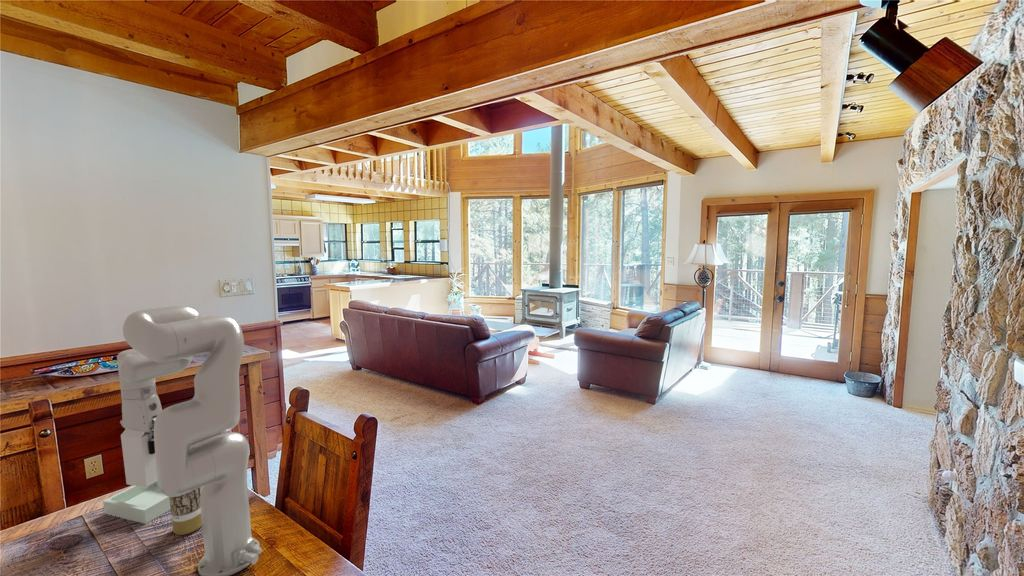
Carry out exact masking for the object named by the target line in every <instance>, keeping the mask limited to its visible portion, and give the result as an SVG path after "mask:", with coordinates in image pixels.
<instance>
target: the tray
mask: <svg viewBox="0 0 1024 576" xmlns="http://www.w3.org/2000/svg"><path fill="white" fill-rule="evenodd" d="M102 503H103V510H104V512H103V513H104V514H105V515H107V514H108V516H111V515H112V517H115V516H116V518H119V517H120V519H124V520H128V521H132V522H136V523H141V524H145V525H147V524H149V523H150V522H151V521H153V520H155V519H157V518H158V517H160V516H162V515H164V514H165V513H167V512H168V511H171V508H170V499H169V497H168V496H166V495H165V494H163V492H162V491H161V489H160V487H159V484H158V481H157V482H155V483H153V484H151V485H149V486H148V487H141V486H134V485H131V486H129V487H128V488H126V489H123V490H122V491H120V492H118V493H115V494H113V495H112V496H110V497H108V498H105V499H104V500H103V501H102Z"/></svg>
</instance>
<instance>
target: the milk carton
mask: <svg viewBox="0 0 1024 576" xmlns="http://www.w3.org/2000/svg"><path fill="white" fill-rule="evenodd" d="M153 428H154V427H151V428H150V430H151V429H153ZM151 433H152V435H154V431H153V432H151ZM120 440H121V448H122V457H123V467H124V474H125V482H126V483H125V484H126V485H128V486H141V487H148V486H149V485H151V484H153V483H155V482H157V481H158V480H157V472H156V458H155V453H154V454H149V446H148V441H150V440H149V438H148V435H147V434H146V433H145V432H141V431H136V430H132V429H128V428H126V429H125V431H124V430H123V432H122V433H121V434H120Z"/></svg>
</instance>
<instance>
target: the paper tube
mask: <svg viewBox="0 0 1024 576" xmlns="http://www.w3.org/2000/svg"><path fill="white" fill-rule="evenodd" d="M195 444H197V443H195ZM193 445H194V444H193ZM201 493H202V487H199V488H197V489H195V490H193V491H191V492H188V493H186V494H183V495H181V496H177V497H169V499H170V508H171V509H170V515H171V517H170V518H171V524H172V531H173V533H174V534H175V535H178V536H183V535H188V534H191V533H194V532H196V531H197V530H199V529H200V528H201V527H202V519H201V508H200V497H201Z"/></svg>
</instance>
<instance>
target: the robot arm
mask: <svg viewBox="0 0 1024 576" xmlns="http://www.w3.org/2000/svg"><path fill="white" fill-rule="evenodd" d="M122 326H123V327H122V334H123V337H124V341H126V343H127V345H129V346H130V347H131V348H129V349H126V350H123V351H121V352H119V353H118V354H117V356H116V361H117V362H116V363H117V370H118V371H117V372H118V378H119V379H118V380H119V387H120V388H119V389H120V395H121V396H120V397H121V413H122V414H121V417H122V419H120V421H119V424H120V425H121V427H122V430H123V432H124V431H125V429H126V428H128V429H132V430H136V431H141V432H145V433H146V434H147V435H148V438H149V440H150V441H148V446H149V454H154V453H155V458H156V472H157V480H158V484H159V487H160V489H161V491H162V492H163V494H165V495H166V496H168V497H177V496H181V495H183V494H186V493H188V492H191V491H193V490H195V489H197V488H199V487H201V488H202V489H201V491H202V493H201V497H200V508H201V519H202V526H201V527H202V536H203V539H202V540H203V547H204V555H203V556H202V557H201V558H200V560H199V562H198V565H197V570H198V574H199V575H200V576H232V575H234V574H237V573H239V572H241V571H242V570H243V569H245V568H247V567H248V566H250V565H255V564H256V563H258V561H259V555H260V554H262V552H263V548H262V547H261V545H260V542H259V541H258V539H256V538H255V537H253V536H252V526H251V514H250V504H249V503H250V502H249V501H250V500H249V489H248V488H249V487H248V466H249V459H250V444H249V441H248V439H247V438H246V437H245V436H244V435H243V434H242V433H239V432H234V431H232V432H231V431H230V430H232V429H234V428H235V427H236V426H237V425H238V424H239V422H240V418H241V401H240V399H241V396H240V394H241V393H240V370H241V364H242V360H243V356H244V350H245V349H244V348H245V339H244V338H245V337H244V333H243V330H242V328H241V325H240V324H239V322H238V321H237V320H236V319H234V318H232V317H230V316H227V315H226V316H225V315H212V316H211V315H210V316H203V317H202V316H201V314H200V313H199V311H197V310H196V309H194V308H192V307H190V306H186V305H174V306H165V307H164V306H163V307H157V308H149V309H142V310H137V311H134V312H132V313H130V314H129V315H128V316H127V317H126V318H125V320H124V322H123V325H122ZM206 354H208V356H207V357H206V358H205V360H204V361H203V362H202V364H201V365H200V366H199V368H198V369H197V371H196V373H195V376H194V378H193V383H194V386H193V387H194V396H193V397H192V398H191V399H189V400H186V401H183V402H179V403H175V404H173V405H170V406H168V407H165V408H162V404H161V400H160V397H159V395H158V394H157V385H156V379H159V378H162V377H167V376H171V375H175V374H179V373H181V372H183V371H185V369H186V368H187V367H189V365H190V364H191V362H193V358H194V357H197V356H198V357H199V356H201V355H206ZM151 427H154V428H153V429H151V430H150V428H151ZM153 431H154V435H152V433H151V432H153ZM228 431H230V432H228ZM195 443H197V444H195ZM193 444H194V445H193Z"/></svg>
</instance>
